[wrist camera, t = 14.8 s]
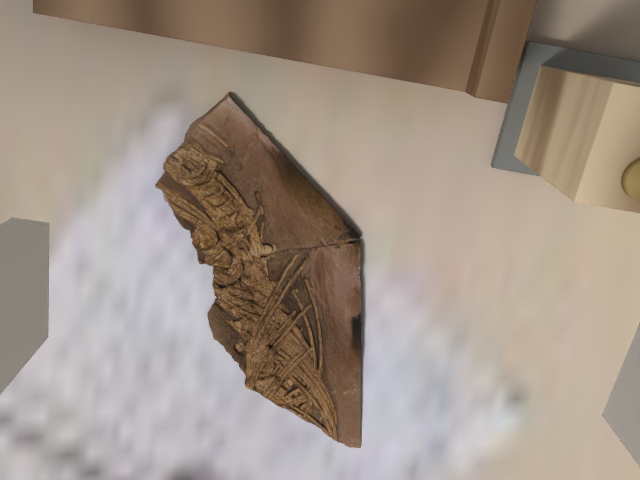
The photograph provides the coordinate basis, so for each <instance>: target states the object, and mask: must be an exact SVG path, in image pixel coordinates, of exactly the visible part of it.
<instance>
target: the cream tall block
mask: <svg viewBox="0 0 640 480" xmlns="http://www.w3.org/2000/svg"><path fill="white" fill-rule="evenodd" d="M514 156H515V157H517V158H518V159H519V160H521V161H522V162H523V163H524V164H526V165H527V166H528V167H530V168H531V169H532V170H533V171H535V172H536V173H537V174H539V175H540V176H541V177H542V178H544V179H545V180H546V181H548V182H549V183H550V184H551V185H553V186H554V187H555V188H557V189H558V190H559V191H560V192H562V193H563V194H564V195H566V196H567V197H568V198H570V199H571V200H572V201H573V202H578V203H584V204H590V205H595V206H601V207H607V208H613V209H619V210H625V211H631V212H636V213H640V84H639V83H635V82H630V81H625V80H619V79H613V78H608V77H602V76H596V75H591V74H585V73H580V72H574V71H568V70H563V69H557V68H552V67H546V66H540V68H539V71H538V75H537V78H536V81H535V85H534V88H533V92H532V95H531V99H530V102H529V106H528V109H527V112H526V116H525V119H524V123H523V126H522V130H521V133H520V137H519V140H518V143H517V147H516V150H515V154H514Z"/></svg>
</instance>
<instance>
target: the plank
mask: <svg viewBox="0 0 640 480" xmlns="http://www.w3.org/2000/svg"><path fill="white" fill-rule="evenodd" d="M536 1H537V0H33V13H37V14H43V15H48V16H54V17H59V18H65V19H70V20H76V21H81V22H87V23H92V24H98V25H103V26H109V27H114V28H119V29H125V30H130V31H136V32H141V33H147V34H152V35H158V36H163V37H169V38H174V39H180V40H185V41H191V42H196V43H201V44H207V45H212V46H218V47H223V48H229V49H234V50H240V51H245V52H251V53H256V54H262V55H267V56H273V57H278V58H283V59H289V60H294V61H300V62H305V63H311V64H316V65H322V66H327V67H333V68H338V69H344V70H349V71H355V72H360V73H365V74H371V75H376V76H382V77H387V78H393V79H398V80H404V81H409V82H415V83H420V84H426V85H431V86H437V87H442V88H447V89H453V90H458V91H464V92H466V93H468V94H470V95H472V96H473V97H475V98H480V99H486V100H491V101H497V102H502V103H508V100H509V97H510V93H511V90H512V86H513V83H514V79H515V75H516V72H517V68H518V65H519V61H520V58H521V54H522V51H523V47H524V44H525V40H526V37H527V33H528V30H529V26H530V23H531V19H532V16H533V12H534V9H535V5H536Z"/></svg>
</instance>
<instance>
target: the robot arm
mask: <svg viewBox="0 0 640 480" xmlns="http://www.w3.org/2000/svg"><path fill="white" fill-rule="evenodd" d="M48 309H49V223H45V222H39V221H33V220H26V219H20V218H13V217H12V218H10V219H9V220H7V221H6V222H4V223H3V224H1V225H0V394H1V393H2V392H3V391H4V389H5V388H6V387H7V386H8V385H9V383H10V382H11V381H12V380H13V379H14V377H15V376H16V375H17V374H18V373H19V371H20V370H21V369H22V368H23V367H24V366H25V364H26V363H27V362H28V361H29V360H30V358H31V357H32V356H33V355H34V354H35V352H36V351H37V350H38V349H39V348H40V346H41V345H42V344H43V343H44V342H45V340H46V339H47V338H48ZM602 416H603V417H604V419H605V420H606V421H607V423H608V424H609V425H610V427H611V428H612V430H613V431H614V432H615V434H616V435H617V436H618V438H619V439H620V441H621V442H622V443H623V445H624V446H625V447H626V449H627V450H628V452H629V453H630V454H631V456H632V457H633V458H634V460H635V461H636V463H637V464H638V465H639V467H640V324H639V326H638V329H637V331H636V333H635V336H634V338H633V341H632V343H631V346H630V348H629V350H628V353H627V355H626V358H625V360H624V363H623V365H622V368H621V370H620V372H619V375H618V377H617V380H616V382H615V385H614V387H613V389H612V392H611V394H610V397H609V399H608V402H607V404H606V407H605V409H604V411H603V414H602Z"/></svg>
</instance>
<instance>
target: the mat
mask: <svg viewBox="0 0 640 480" xmlns="http://www.w3.org/2000/svg"><path fill="white" fill-rule="evenodd" d="M540 66H546V67H552V68H557V69H563V70H568V71H574V72H580V73H585V74H591V75H596V76H602V77H608V78H613V79H619V80H625V81H630V82H635V83H639V84H640V62H638V61H632V60H627V59H622V58H616V57H611V56H606V55H600V54H595V53H590V52H584V51H579V50H573V49H568V48H563V47H557V46H552V45H547V44H541V43H536V42H531V41H526V43H525V46H524V50H523V53H522V57H521V60H520V64H519V67H518V71H517V74H516V78H515V81H514V85H513V88H512V92H511V96H510V99H509V103H508V106H507V110H506V113H505V117H504V120H503V124H502V127H501V131H500V134H499V138H498V141H497V145H496V148H495V152H494V155H493V159H492V162H491V166H492V167H493V168H497V169H503V170H508V171H514V172H519V173H525V174H531V175H536V176H540V175H539V174H537V173H536V172H535V171H533V170H532V169H531V168H530V167H528V166H527V165H526V164H524V163H523V162H522V161H521V160H519V159H518V158H517V157H515V156H514V154H515V150H516V147H517V143H518V140H519V137H520V133H521V130H522V126H523V123H524V119H525V116H526V112H527V109H528V106H529V102H530V99H531V95H532V92H533V88H534V85H535V81H536V78H537V75H538V71H539V68H540Z"/></svg>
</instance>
